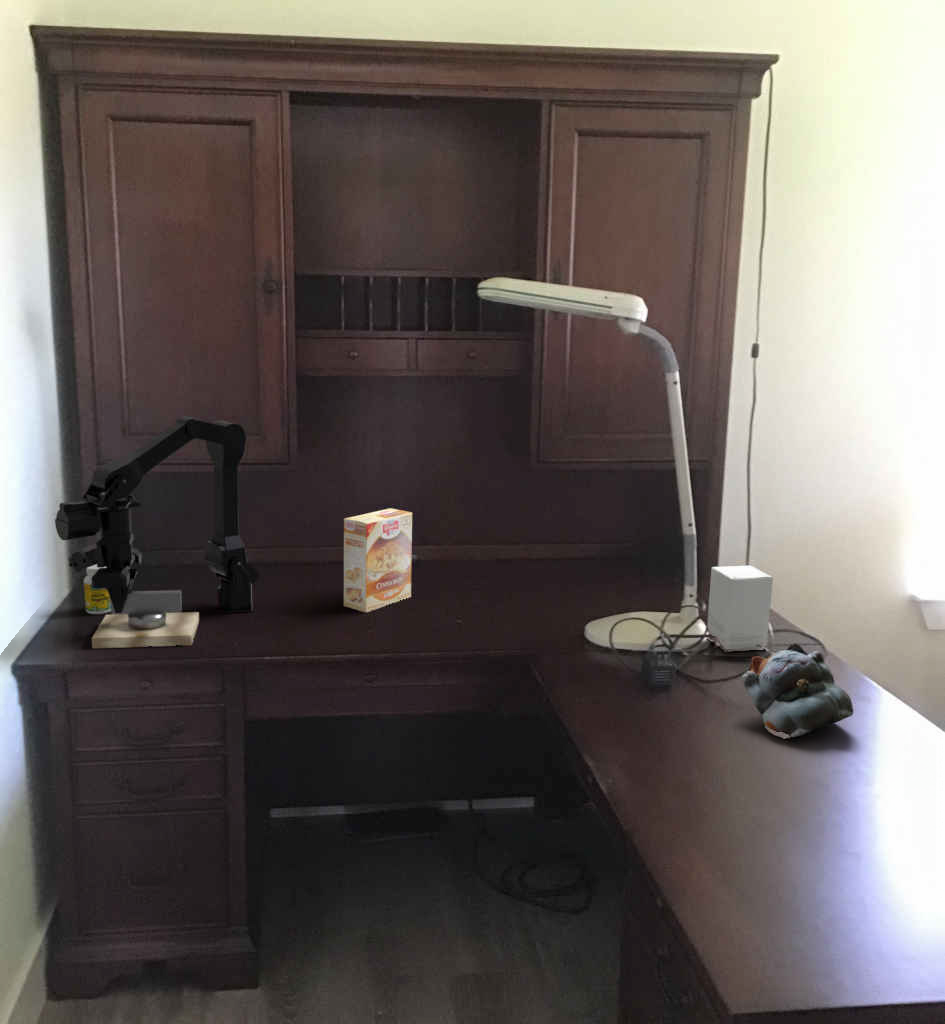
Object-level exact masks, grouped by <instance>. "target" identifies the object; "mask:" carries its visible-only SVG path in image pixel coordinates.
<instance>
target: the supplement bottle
mask: <svg viewBox="0 0 945 1024" xmlns="http://www.w3.org/2000/svg"><path fill="white" fill-rule="evenodd" d="M99 568H107V567H97V564H96V565H93V566H91V567H88V568H85V569H86V570H85V571H86V576H85V577H84V579H83V587H84V601H85V611H86V613H88V614H91V615H104V614H105V615H106V614H108V613H111V605H110V596H109V593H108V591H107V589H106V588H92V580H91V578H92V576H93V575H94V574H95V572H96V571H97V570H98V569H99Z"/></svg>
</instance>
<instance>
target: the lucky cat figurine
mask: <svg viewBox="0 0 945 1024" xmlns="http://www.w3.org/2000/svg"><path fill="white" fill-rule="evenodd" d="M823 655H824V654H823V653H822V652H820V651H818V650H815V651H813V652H811V653H809V654H808V653H807V652H806V651H805V650H804V649H803V647H802V646H801V645H799V643H791V644H790V645H788V647H787V648H786V649H785V650H778V651H777V652H775V653H773V654H772V655H769V656H768V657H767V658H766V657H761V656H759V655H757V656H752V658H751V659H750V660H751V662H750V665H749V668H748V669H747V670H746V671H745V673H744V674H742V676H741V682H742V685H743V687H744V688H745V691H746V694H747V695H748V696H749V698H750V699H751V700H752V702H753V704H754V706H755V708H756V710H757V711H758V713H759V714H760V717H761V719H762V720H763V725H764V724H765V725H766V726H767V727H769V728H770V729H772V730H774V731H776V732H783V733H785V734H788V735H789V737H792V738H796V737H799V736H802V735H805V734H807V733H810V732H812V731H815V730H818V729H821V728H823V727H828V726H830V725H834V724H836V723H838V722H841V721H843V720H844V719H847V718H849V717H850V718H851V717H852V716H853V715H854V707H853V702H852V699H851V697H850V695H849V694H848V693H847V692H846V691H845V690H844V689H843V688H842V687H840V686H838V685H836V683H835V679H834V675H833V674H832V672H831V670H830V669H829V667H828V666H827V665H826V663H825V659H824V656H823Z"/></svg>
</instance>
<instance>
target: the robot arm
mask: <svg viewBox="0 0 945 1024" xmlns="http://www.w3.org/2000/svg"><path fill="white" fill-rule="evenodd" d="M247 438H248V437H247V431H246V429H244V428H243V427H242V426H241V425H240V424H238V423H234V422H229V421H224V420H217V419H216V420H214V421H212V422H211V423H210V422H206V421H202V420H199V419H197V418H195V417H190V416H189V417H188V416H181V417H179V418H178V419H177V420H176V421H175V423H173V424H171V425H170V426H168V427H167V428H165V429H164V430H163V431H162V432H160V433H158V434H157V435H156V436H155V437H153V438H152V439H150V440H149V441H147V442H146V443H144V444H143V445H142V446H140V447H139V448H138V449H136V450H134V451H133V452H132V453H130V454H128V455H125V456H123V457H119V458H117V459H116V458H115V459H113V460H110V461H108V462H107V463H104V464H102V465H100V466H99V467H97V468H95V470H94V471H93V473H92V480H91V481H90V484H89V485H88V487H87V488H86V490H85V492H84V493H83V495H82V496H81V498H80V501H75V502H74V501H73V502H67V501H66V502H60V503H59V506H58V507H59V510H57V512H56V517H55V519H54V525H55V529H56V532H57V535H58V537H59V538H60V539H61V540H62V541H68V540H69V541H70V540H75V539H82V538H88V537H94V536H96V535H97V533H99V538H98V539H97V540H96V544H92V545H89V546H87V547H83V548H80V549H78V550H76V551H75V550H74V551H72V552H71V554H69V556H68V562H69V564H68V566H69V567H70V568H72V569H73V572H74V573H76V574H77V573H80V572H82V571H83V570H84V569H86V568H88V567H91V566H93V565H96V564H97V567H107V568H99V569H98V570H97V571H96V572H95V574H94V575H93V576H92V578H91V580H92V588H106V589H107V591H108V593H109V596H110V598H111V601H112V604H113V607H114V610H115V613H122V610H123V607H124V604H125V601H126V598H127V595H128V592H129V591H131V590H132V587H133V584H134V582H135V579H136V576H137V574H138V571H139V569H138V568H131V567H132V565H133V563H136V566H140V565H141V563H142V562H143V561H142V560H143V559H142V557H143V556H142V552H141V551H140V550H139V549H138V548H136V547H135V548H133V541H134V539H135V537H134V536H135V534H134V533H132V518H131V517H132V515H131V509H134V508H141V506H142V503H141V502H140V501H138V500H137V499H136V498H135V497H134V495H132V493H133V492H134V491H135V490H137V488H138V487H139V486H140V484H141V483H142V481H143V480H144V477H145V476H146V475H147V474H148V473H149V472H150V471H151V470H153V469H154V468H156V466H159V465H160V464H161V463H162V462H164V461H166V460H167V459H169V457H170V456H172V455H174V454H175V453H176V452H178V451H179V450H180V449H182V448H183V447H185V446H186V445H187V444H189V443H190V442H191V441H193V440H194V439H197V440H201V441H205V445H206V450H207V453H208V455H209V458H210V461H211V463H212V464H213V488H214V491H213V492H214V494H213V496H214V501H213V502H214V534H213V536H212V538H211V540H210V541H204V550H205V553H204V554H205V555H204V559H203V560H204V561H206V564H207V566H208V568H209V569H210V570H211V571H213V573H214V576H215V578H216V579H220V583H219V584H220V585H219V586H218V588H217V602H218V603H217V605H218V606H217V607H218V608H219V609H220V610H219V612H220V613H221V614H222V613H223V614H224V613H225V614H226V613H251V612H253V606H254V601H253V586H252V585H253V584H254V583H255V584H256V583H257V581H258V578H259V574H260V573H259V572H258V571H257V569H255V568H254V567H253V566H251V565H250V564H249V563H248V556H247V551H246V547H245V545H244V542H243V540H242V538H241V536H240V532H239V531H240V527H239V526H240V524H239V520H240V519H239V518H240V517H239V516H240V515H239V514H240V513H239V466H240V463H241V461H242V459H243V457H244V455H245V451H246V444H247ZM101 495H103V496H101Z"/></svg>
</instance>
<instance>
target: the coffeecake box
mask: <svg viewBox="0 0 945 1024" xmlns="http://www.w3.org/2000/svg"><path fill="white" fill-rule="evenodd" d="M412 544H413V512H411V511H407V510H401V509H397V508H393V507H392V508H391V507H390V508H385V509H381V510H377V511H372V512H368V513H365V514H360V515H355V516H354V515H353V516H349V517H345V518H343V607H346V608H350V609H353V610H357V611H358V612H362V613H366V612H367V613H369V612H372V610H373V611H376V610H378V609H381V608H383V607H386V605H387V606H389V604H390V605H392V603H393V604H395V603H399V602H401V601H403V599H404V600H407V599H410V598H412V553H413V552H412V550H413V549H412V546H413V545H412ZM409 597H410V598H409ZM406 598H407V599H406ZM400 600H401V601H400Z"/></svg>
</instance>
